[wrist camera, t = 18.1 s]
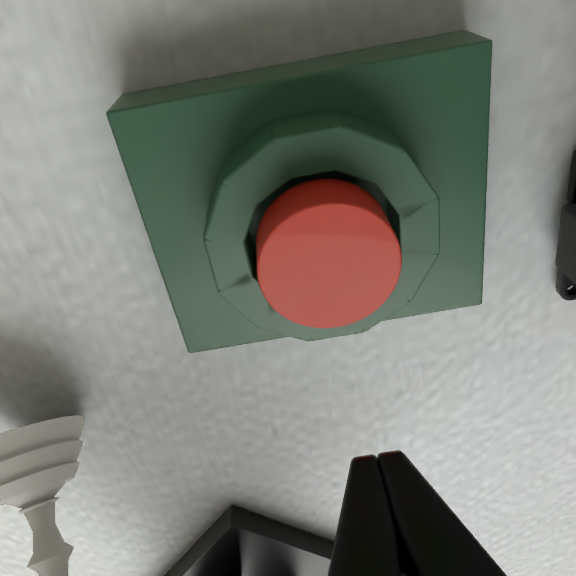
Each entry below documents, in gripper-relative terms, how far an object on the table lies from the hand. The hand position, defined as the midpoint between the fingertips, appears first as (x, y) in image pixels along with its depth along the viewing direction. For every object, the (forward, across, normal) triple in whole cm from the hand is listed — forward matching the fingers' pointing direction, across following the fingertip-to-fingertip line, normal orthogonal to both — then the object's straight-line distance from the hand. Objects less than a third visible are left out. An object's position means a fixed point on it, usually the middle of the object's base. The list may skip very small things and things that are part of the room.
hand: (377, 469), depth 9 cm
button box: (+12, 0, 0) cm, 12 cm away
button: (+8, 0, 0) cm, 8 cm away
